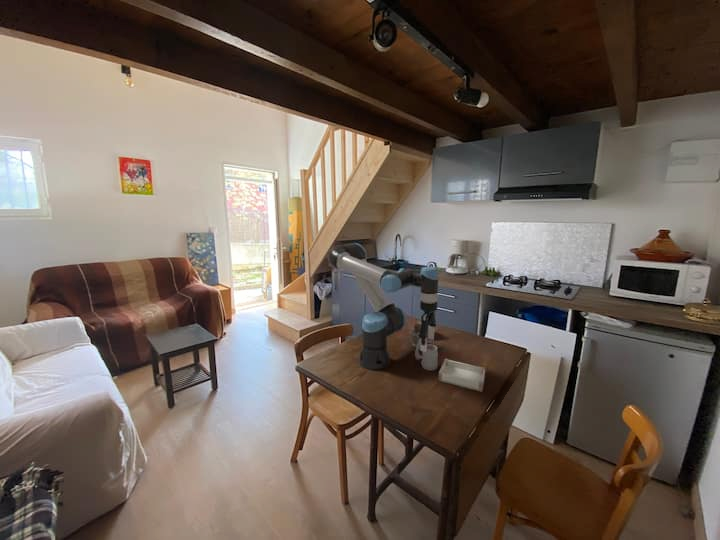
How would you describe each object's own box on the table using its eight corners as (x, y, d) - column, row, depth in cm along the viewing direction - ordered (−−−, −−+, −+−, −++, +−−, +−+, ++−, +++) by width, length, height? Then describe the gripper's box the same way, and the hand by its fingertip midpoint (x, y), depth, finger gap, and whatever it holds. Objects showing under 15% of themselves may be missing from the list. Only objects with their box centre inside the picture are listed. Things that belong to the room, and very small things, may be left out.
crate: (438, 380, 126) (438, 372, 125) (444, 365, 138) (445, 358, 137) (482, 391, 118) (482, 383, 118) (484, 375, 130) (485, 367, 129)
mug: (433, 372, 132) (434, 348, 130) (410, 363, 140) (411, 340, 137) (440, 366, 138) (442, 342, 135) (418, 357, 145) (419, 335, 143)
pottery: (405, 346, 157) (406, 326, 155) (417, 329, 179) (418, 311, 177) (426, 351, 153) (427, 329, 150) (436, 333, 175) (437, 314, 172)
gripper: (430, 310, 120) (428, 358, 124) (443, 295, 141) (441, 336, 146) (412, 308, 123) (411, 354, 127) (427, 293, 145) (426, 333, 149)
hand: (427, 344), depth 136 cm, fingers open, 13 cm apart
